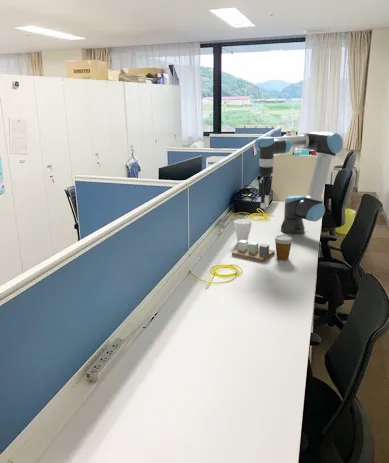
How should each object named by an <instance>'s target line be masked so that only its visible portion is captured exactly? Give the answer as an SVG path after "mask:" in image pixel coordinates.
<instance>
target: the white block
mask: <svg viewBox="0 0 389 463" xmlns="http://www.w3.org/2000/svg"><path fill="white" fill-rule="evenodd" d="M248 245H249V240H248V241H246V240H240V241H239V242H238V243H237V246H238V248H237V249H238V250H241V251H245V250H247V249H248Z"/></svg>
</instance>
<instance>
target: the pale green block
mask: <svg viewBox="0 0 389 463" xmlns="http://www.w3.org/2000/svg"><path fill="white" fill-rule="evenodd" d="M248 245H249V252H250V253H255V254H256V253H257V252H258V247H259V242H255V241H251V242H248Z"/></svg>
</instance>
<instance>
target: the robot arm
mask: <svg viewBox="0 0 389 463" xmlns="http://www.w3.org/2000/svg"><path fill="white" fill-rule="evenodd" d="M343 143H344V142H343V138H342V136H341V135H340V134H339V133H337V132H332V131H317V130H316V131H311V132H305V133H303V132H302V133H300V134H299V135H287V136H276V137H273V136H263V137H258V138H256V140H255V141H254V149H255V150H256V151H259V160H258V162H259V167H258V173H259V174H260V179H258V197H260V209H263V210H264V209H266V208H268V207H269V202H270V201H269V200H270V196H271V195H272V194H271V193H272V181H273V175H272V174H273V172H274V155H279V154H287V153H289V152H290V151H291V150H292V149H293V150H294V149H300V150H312V151H314V152H315V154H316V160H315V165H314V168H313V172H312V176H311V180H310V182H309V183H310V184H309V188H308V191H307V194H306V195H305V196H304V195H289V196H287V197H285V200H284V216H283V221H282V224H281V226H280V231H281V232H283V233H285V234H289V235H298V234H303V233H304V232H305V224H304V220H306V221H308V222H318V221H319V220H321V219H322V218H323V217H324V214H325V213H326V208H325V207H326V206H325V205H324V204H323V202H324V200H323V194H324V189H325V185H326V183H327V178H328V175H329V171H330V168H331V163H332V160H333V159H334V158H336V155H337V154H338V153H340V152H341V150H342V149H343Z"/></svg>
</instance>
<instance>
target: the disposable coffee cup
mask: <svg viewBox="0 0 389 463" xmlns="http://www.w3.org/2000/svg"><path fill="white" fill-rule="evenodd" d="M274 242H275V252H276V259H277V260H279V261H288V260H289V257H290V254H291V248H292V243H293V238H292V236H289V235H286V234H280V235H276V236H275V237H274Z"/></svg>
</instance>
